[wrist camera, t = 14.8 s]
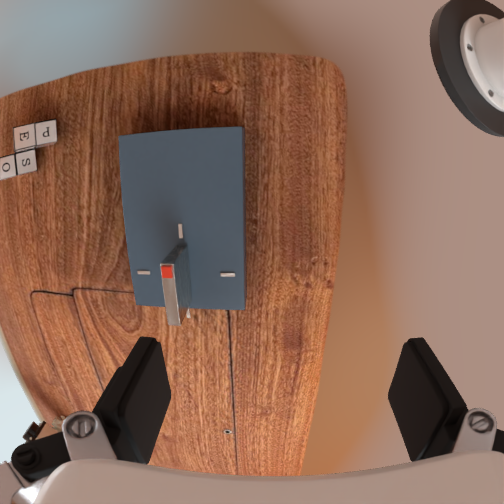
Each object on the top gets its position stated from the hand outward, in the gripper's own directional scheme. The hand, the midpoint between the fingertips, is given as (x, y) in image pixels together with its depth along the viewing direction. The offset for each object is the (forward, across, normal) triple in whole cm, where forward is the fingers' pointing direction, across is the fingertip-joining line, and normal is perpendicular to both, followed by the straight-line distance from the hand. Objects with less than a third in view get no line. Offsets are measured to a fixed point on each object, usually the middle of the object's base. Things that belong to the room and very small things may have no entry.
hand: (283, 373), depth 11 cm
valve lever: (+19, +9, +4) cm, 22 cm away
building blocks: (+22, +28, -10) cm, 38 cm away
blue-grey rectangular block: (+22, +9, -1) cm, 24 cm away
